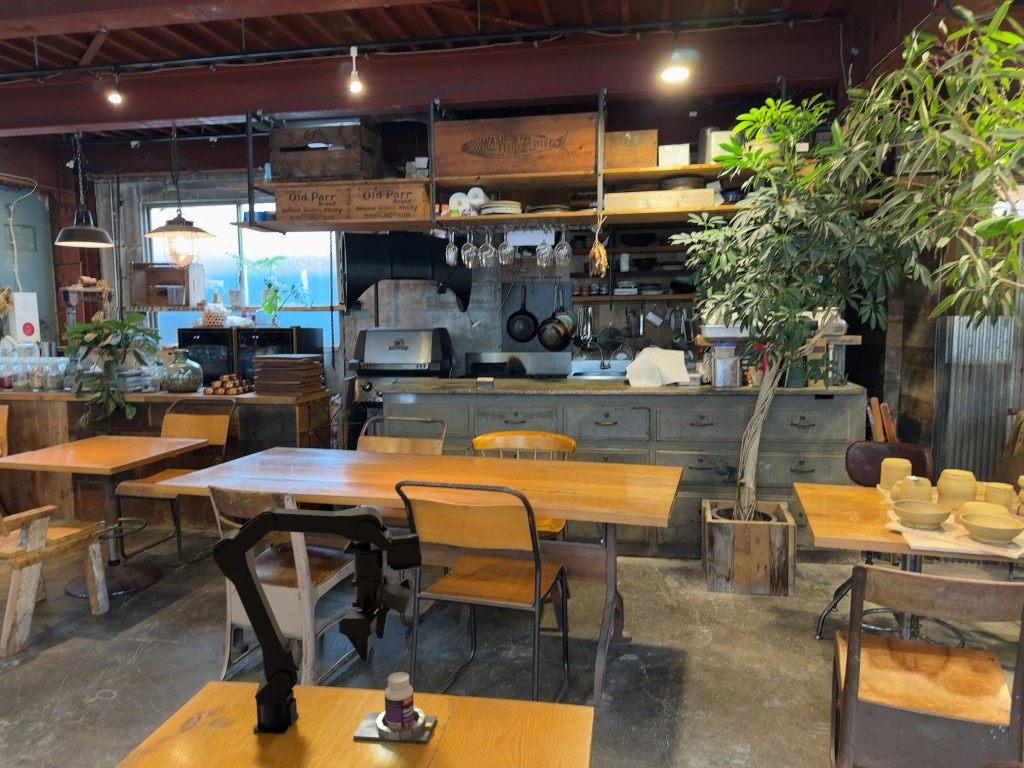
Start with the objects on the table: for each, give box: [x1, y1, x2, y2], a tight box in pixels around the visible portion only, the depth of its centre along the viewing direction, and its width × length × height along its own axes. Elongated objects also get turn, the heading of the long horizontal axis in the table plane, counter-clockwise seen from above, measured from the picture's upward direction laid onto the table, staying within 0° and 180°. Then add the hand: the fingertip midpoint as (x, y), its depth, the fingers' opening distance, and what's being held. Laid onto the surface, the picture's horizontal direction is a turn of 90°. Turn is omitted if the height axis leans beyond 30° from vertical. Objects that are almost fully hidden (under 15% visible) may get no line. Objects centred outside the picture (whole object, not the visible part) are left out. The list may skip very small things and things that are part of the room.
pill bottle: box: [384, 671, 415, 729], centre depth 130 cm, size 5×5×10 cm
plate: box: [352, 711, 438, 745], centre depth 130 cm, size 14×8×1 cm, turn 82°
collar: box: [376, 705, 432, 740], centre depth 130 cm, size 10×9×2 cm
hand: (373, 648), depth 135 cm, fingers open, 9 cm apart
